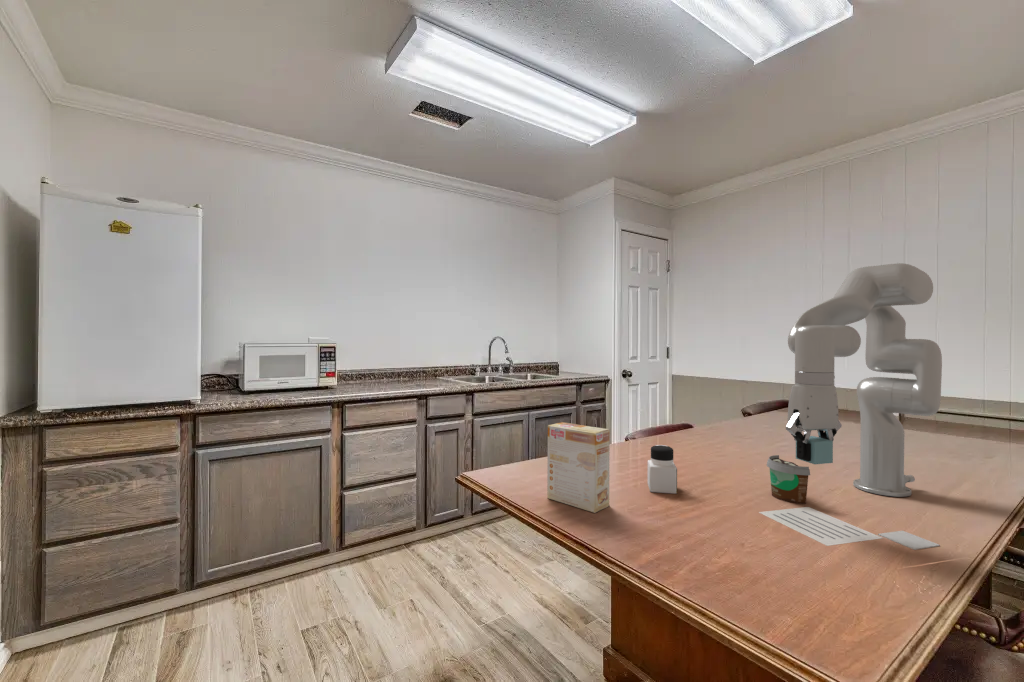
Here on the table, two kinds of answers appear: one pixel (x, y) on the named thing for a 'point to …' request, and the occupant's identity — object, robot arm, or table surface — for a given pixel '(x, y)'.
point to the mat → (908, 540)
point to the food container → (788, 480)
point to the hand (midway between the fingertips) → (813, 457)
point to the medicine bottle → (662, 470)
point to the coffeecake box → (578, 465)
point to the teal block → (820, 450)
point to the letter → (820, 526)
